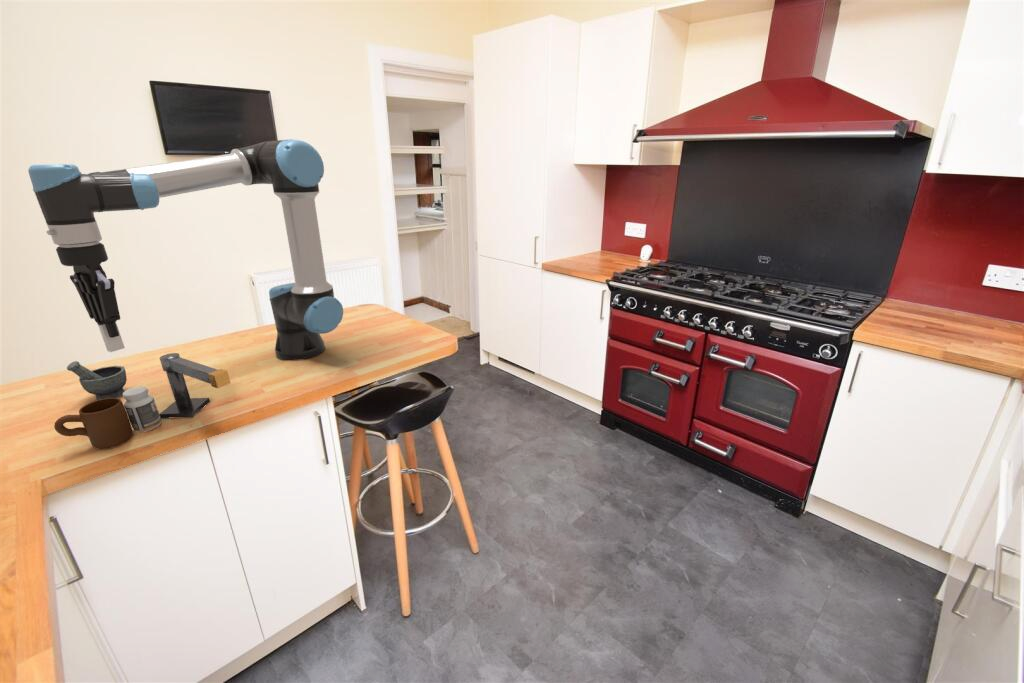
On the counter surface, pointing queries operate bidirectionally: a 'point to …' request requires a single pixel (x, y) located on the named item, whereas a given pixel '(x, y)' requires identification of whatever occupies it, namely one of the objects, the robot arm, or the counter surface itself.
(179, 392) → the post
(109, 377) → the mortar and pestle
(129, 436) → the mug
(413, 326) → the counter surface
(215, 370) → the bar
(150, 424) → the pill bottle
